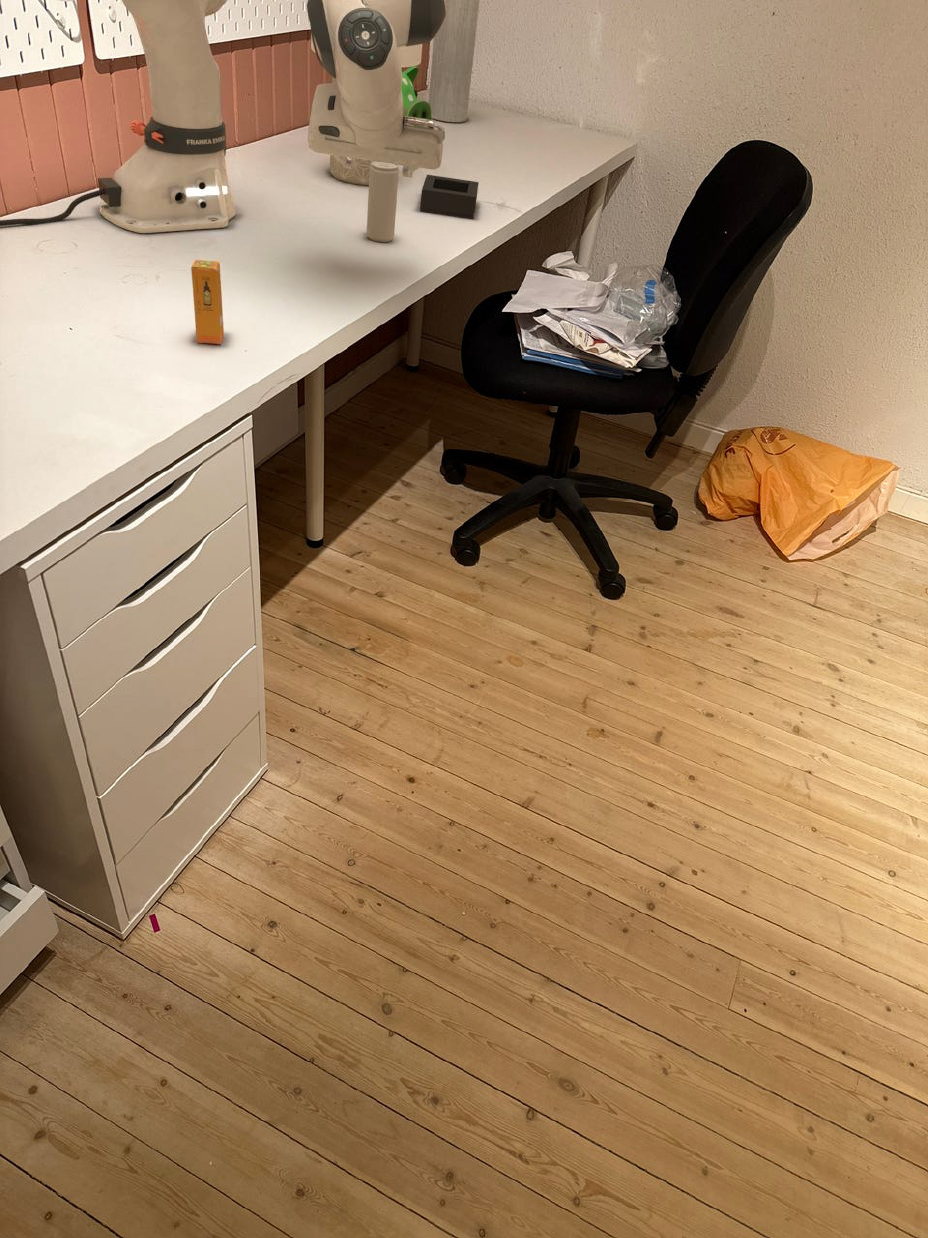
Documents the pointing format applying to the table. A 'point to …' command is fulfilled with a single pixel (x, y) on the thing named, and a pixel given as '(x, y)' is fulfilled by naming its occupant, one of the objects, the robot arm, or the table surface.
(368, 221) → the beverage can
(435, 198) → the box socket
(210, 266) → the supplement box
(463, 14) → the vase
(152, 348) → the table surface
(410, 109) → the piggy bank
